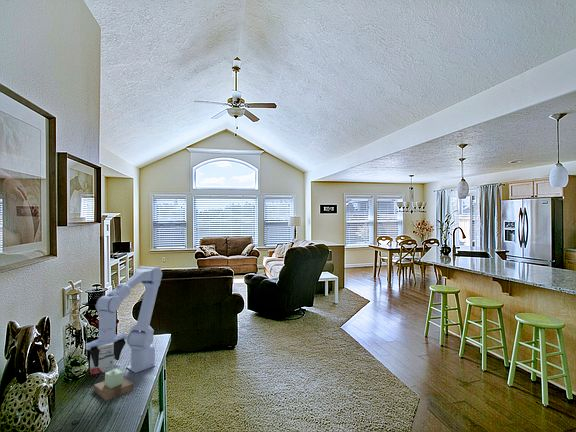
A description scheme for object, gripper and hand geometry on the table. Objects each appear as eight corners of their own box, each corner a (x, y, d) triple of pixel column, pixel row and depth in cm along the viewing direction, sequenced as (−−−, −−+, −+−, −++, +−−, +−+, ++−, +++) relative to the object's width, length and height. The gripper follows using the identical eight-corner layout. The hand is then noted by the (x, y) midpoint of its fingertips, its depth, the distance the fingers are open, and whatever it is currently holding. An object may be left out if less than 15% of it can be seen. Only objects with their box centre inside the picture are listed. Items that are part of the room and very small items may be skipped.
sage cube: (116, 380, 131) (116, 368, 131) (122, 383, 128) (123, 372, 128) (104, 384, 127) (105, 372, 127) (110, 388, 125) (111, 376, 125)
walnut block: (120, 382, 135) (120, 375, 135) (132, 391, 129) (133, 383, 129) (93, 392, 127) (94, 384, 127) (105, 402, 121) (105, 393, 121)
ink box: (90, 375, 139) (91, 347, 139) (89, 370, 143) (90, 343, 143) (113, 370, 144) (114, 343, 144) (112, 366, 148) (112, 339, 148)
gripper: (91, 335, 121) (90, 372, 121) (131, 325, 132) (130, 359, 132) (83, 330, 125) (82, 366, 125) (122, 321, 136) (121, 354, 136)
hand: (106, 362), depth 129 cm, fingers open, 7 cm apart
